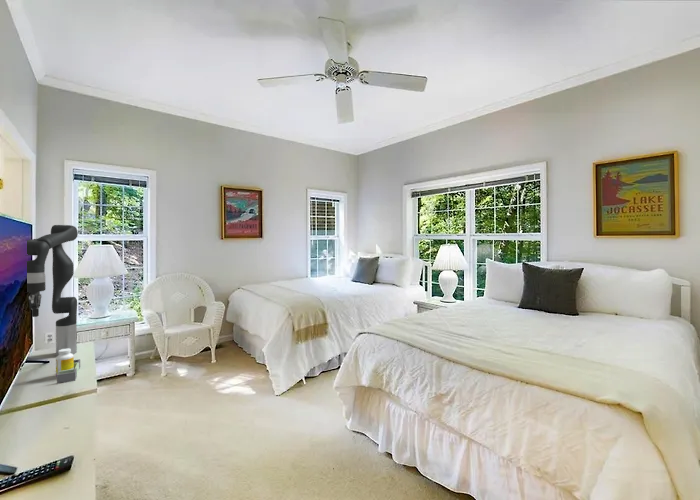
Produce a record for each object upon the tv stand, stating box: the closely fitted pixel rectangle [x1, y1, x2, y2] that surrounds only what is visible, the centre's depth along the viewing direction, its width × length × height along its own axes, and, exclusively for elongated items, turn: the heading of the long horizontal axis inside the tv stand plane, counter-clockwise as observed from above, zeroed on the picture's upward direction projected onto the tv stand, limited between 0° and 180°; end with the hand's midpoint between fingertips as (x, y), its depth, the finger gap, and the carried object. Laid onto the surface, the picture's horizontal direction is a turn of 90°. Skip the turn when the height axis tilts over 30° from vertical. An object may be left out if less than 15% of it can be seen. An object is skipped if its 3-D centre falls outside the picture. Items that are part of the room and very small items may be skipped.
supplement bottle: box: [55, 348, 75, 378], centre depth 162 cm, size 7×7×13 cm
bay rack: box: [56, 359, 81, 384], centre depth 163 cm, size 20×6×4 cm, turn 34°
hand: (35, 316), depth 162 cm, fingers closed
